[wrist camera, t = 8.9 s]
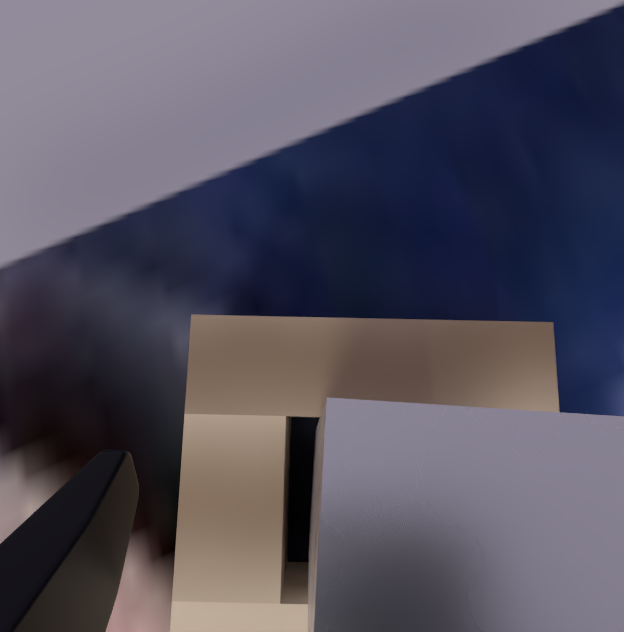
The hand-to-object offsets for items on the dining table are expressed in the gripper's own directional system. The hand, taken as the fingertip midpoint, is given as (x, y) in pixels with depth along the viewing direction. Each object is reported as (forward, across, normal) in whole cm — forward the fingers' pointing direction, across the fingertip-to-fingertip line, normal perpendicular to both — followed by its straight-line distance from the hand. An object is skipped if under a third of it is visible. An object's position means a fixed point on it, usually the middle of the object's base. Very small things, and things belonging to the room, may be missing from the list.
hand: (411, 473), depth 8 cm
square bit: (+6, 0, +8) cm, 10 cm away
